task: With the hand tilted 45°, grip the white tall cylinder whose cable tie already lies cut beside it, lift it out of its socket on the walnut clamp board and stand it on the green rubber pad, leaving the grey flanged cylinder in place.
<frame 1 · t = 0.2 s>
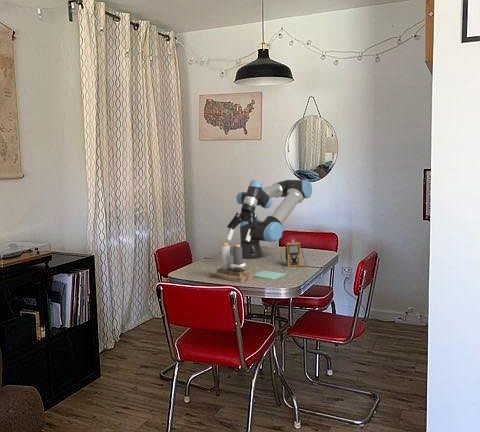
hand: (237, 240, 268), 15 cm above the table, tool tilted 35°, fingers open, 13 cm apart
white tall cylinder: (226, 272, 250), point 2 cm above the table, touching clamp board
clamp board: (232, 277, 248), on the table
green pad: (268, 275, 250), on the table
grey flanged cylinder: (238, 274, 245), resting on clamp board
multimeter: (295, 267, 266), on the table
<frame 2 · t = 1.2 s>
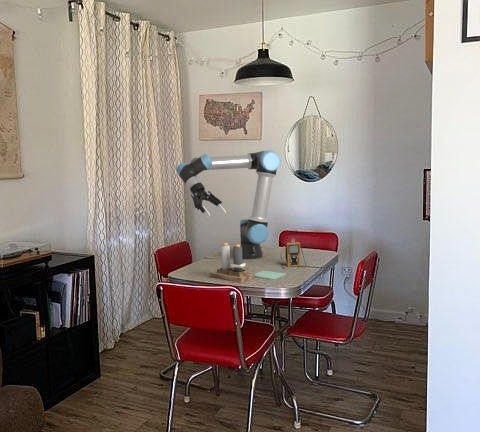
hand: (216, 215, 261), 30 cm above the table, tool tilted 45°, fingers open, 13 cm apart
nothing on the table moved.
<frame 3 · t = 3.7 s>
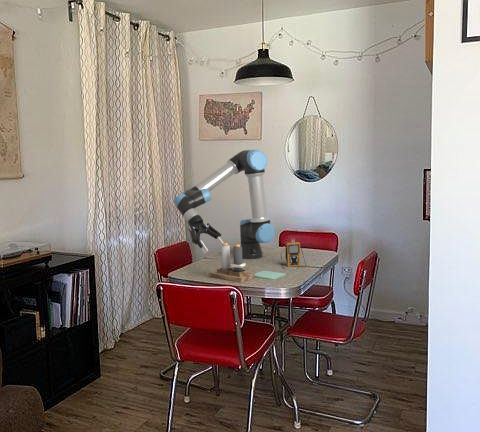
hand: (215, 249, 251), 14 cm above the table, tool tilted 45°, fingers open, 13 cm apart
nothing on the table moved.
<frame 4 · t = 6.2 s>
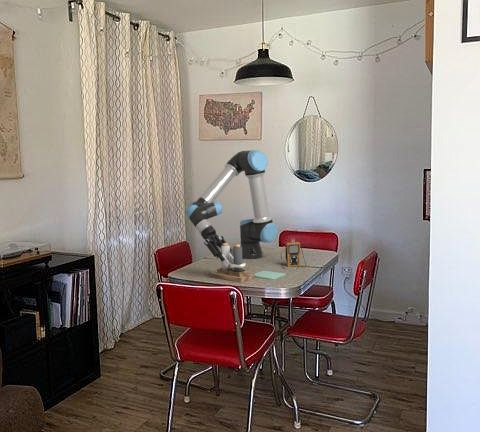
hand: (231, 264, 247), 7 cm above the table, tool tilted 45°, fingers closed on white tall cylinder, 4 cm apart
white tall cylinder: (226, 272, 250), point 2 cm above the table, touching clamp board, gripper
everything else where it was.
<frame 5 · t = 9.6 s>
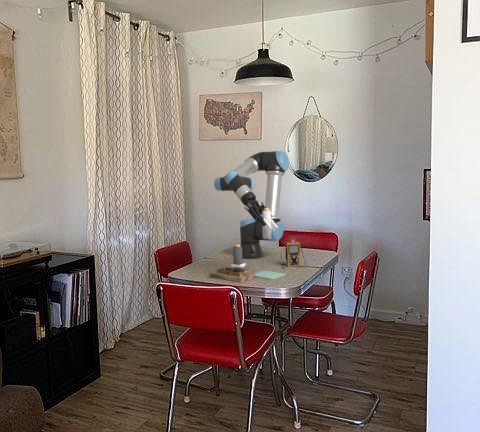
hand: (273, 229, 245), 24 cm above the table, tool tilted 45°, fingers closed on white tall cylinder, 4 cm apart
white tall cylinder: (267, 238, 248), point 19 cm above the table, touching gripper
everything else where it was.
when the fingers open (7 cm above the table, at t = 13.0 s): white tall cylinder drops 2 cm, resting on green pad.
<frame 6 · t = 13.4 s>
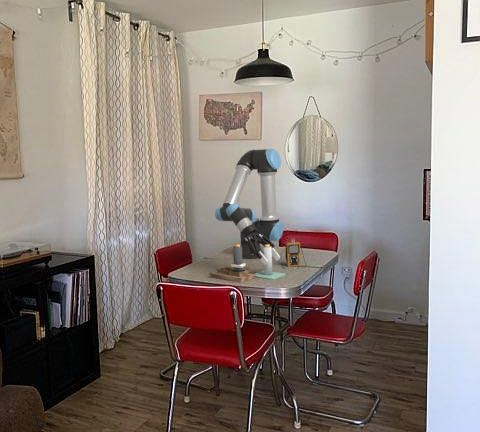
hand: (272, 261, 247), 8 cm above the table, tool tilted 45°, fingers open, 10 cm apart
white tall cylinder: (268, 274, 250), point 1 cm above the table, touching green pad
everything else where it was.
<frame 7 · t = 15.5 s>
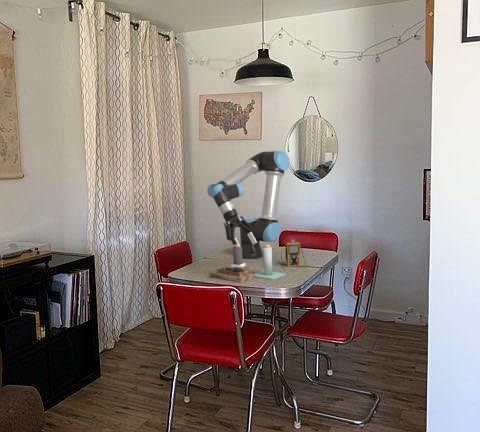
hand: (247, 246, 257), 14 cm above the table, tool tilted 30°, fingers open, 13 cm apart
nothing on the table moved.
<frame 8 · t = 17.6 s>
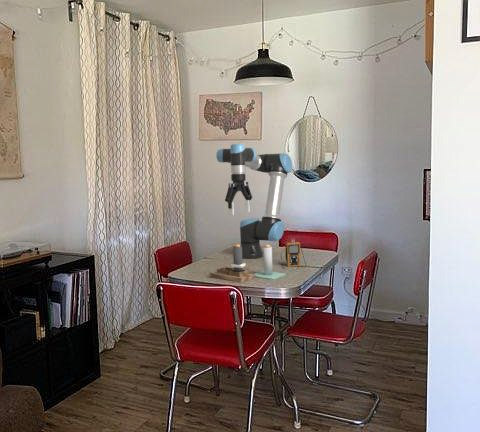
hand: (239, 213, 261), 31 cm above the table, tool pointing down, fingers open, 13 cm apart
nothing on the table moved.
at the end: white tall cylinder inside the target area on the green pad (0.0 cm from its centre), point 0.6 cm above the green pad's base; white tall cylinder tilted 0°; the gripper is holding nothing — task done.
